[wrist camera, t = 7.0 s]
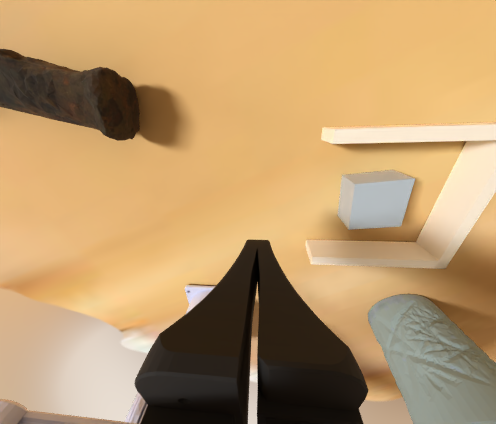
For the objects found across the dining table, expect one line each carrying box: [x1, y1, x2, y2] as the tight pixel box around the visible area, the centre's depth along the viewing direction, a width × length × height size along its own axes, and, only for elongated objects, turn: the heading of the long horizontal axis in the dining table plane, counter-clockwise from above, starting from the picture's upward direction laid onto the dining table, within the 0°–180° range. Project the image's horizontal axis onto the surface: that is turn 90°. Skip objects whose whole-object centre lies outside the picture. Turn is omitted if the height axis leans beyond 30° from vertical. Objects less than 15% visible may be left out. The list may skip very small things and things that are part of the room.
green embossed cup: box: [368, 294, 496, 424], centre depth 20 cm, size 10×10×12 cm
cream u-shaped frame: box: [305, 122, 496, 269], centre depth 17 cm, size 13×13×3 cm
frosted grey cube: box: [338, 170, 415, 230], centre depth 17 cm, size 4×4×3 cm
